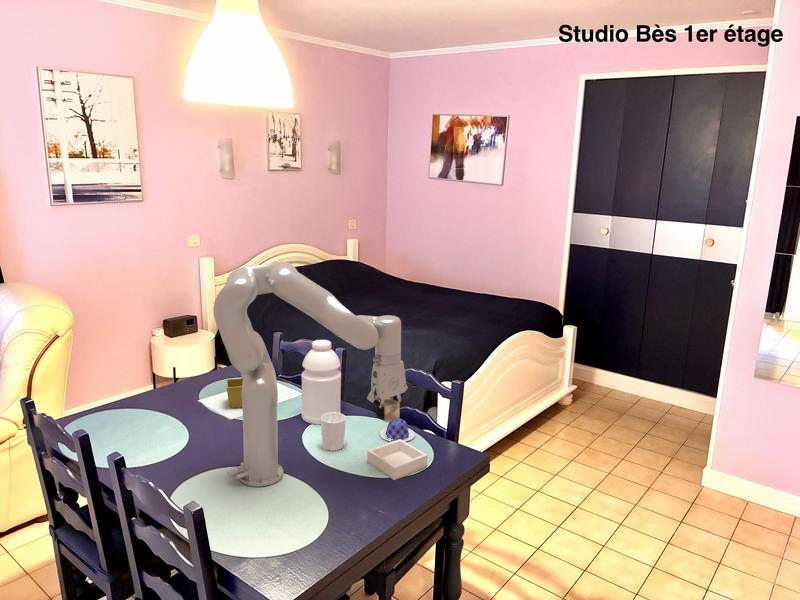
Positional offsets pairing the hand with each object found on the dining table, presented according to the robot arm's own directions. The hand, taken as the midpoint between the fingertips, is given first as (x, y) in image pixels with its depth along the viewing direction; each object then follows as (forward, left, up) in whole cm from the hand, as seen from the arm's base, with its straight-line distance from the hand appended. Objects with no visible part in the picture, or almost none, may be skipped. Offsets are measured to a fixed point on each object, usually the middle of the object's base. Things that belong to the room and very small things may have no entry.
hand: (387, 415), depth 177 cm
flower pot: (-16, +67, -17) cm, 71 cm away
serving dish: (+3, -2, -17) cm, 17 cm away
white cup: (-6, +20, -17) cm, 27 cm away
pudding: (+16, +14, -17) cm, 27 cm away
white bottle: (+3, +41, -17) cm, 44 cm away
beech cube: (0, 0, -1) cm, 1 cm away
